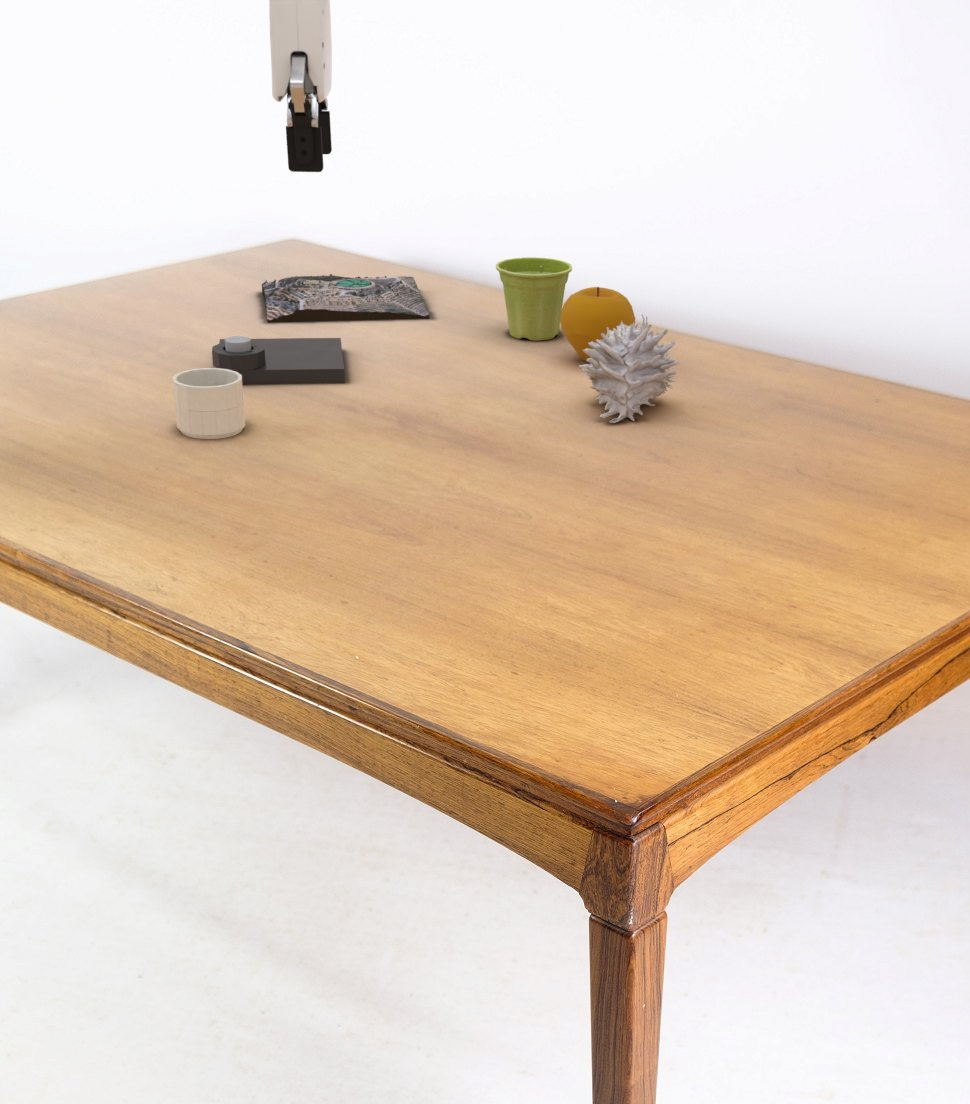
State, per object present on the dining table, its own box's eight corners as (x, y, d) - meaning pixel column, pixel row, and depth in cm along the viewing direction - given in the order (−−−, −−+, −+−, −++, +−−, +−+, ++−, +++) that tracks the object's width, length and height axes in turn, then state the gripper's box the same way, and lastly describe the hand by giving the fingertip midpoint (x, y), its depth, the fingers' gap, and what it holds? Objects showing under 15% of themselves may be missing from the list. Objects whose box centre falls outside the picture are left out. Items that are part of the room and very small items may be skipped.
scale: (213, 386, 180) (211, 355, 179) (217, 353, 192) (215, 323, 190) (345, 384, 183) (343, 353, 181) (341, 351, 194) (339, 322, 193)
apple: (556, 350, 199) (558, 276, 194) (629, 351, 199) (632, 277, 195) (561, 371, 191) (562, 295, 186) (637, 372, 192) (640, 296, 187)
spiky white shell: (659, 415, 185) (565, 432, 180) (642, 317, 183) (547, 332, 178) (709, 407, 175) (611, 425, 170) (693, 303, 173) (593, 319, 168)
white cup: (175, 441, 164) (170, 387, 161) (179, 420, 169) (174, 368, 167) (245, 439, 165) (241, 386, 162) (246, 418, 171) (242, 367, 168)
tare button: (225, 354, 180) (224, 342, 180) (226, 348, 183) (225, 336, 182) (251, 354, 181) (250, 342, 180) (251, 347, 183) (250, 335, 182)
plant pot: (514, 348, 199) (514, 276, 195) (484, 329, 206) (484, 259, 202) (583, 341, 203) (585, 271, 199) (551, 323, 210) (552, 254, 206)
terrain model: (268, 323, 204) (266, 297, 203) (262, 295, 217) (260, 270, 216) (429, 319, 209) (428, 294, 207) (414, 291, 222) (413, 267, 220)
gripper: (268, -40, 156) (281, 146, 165) (245, -27, 141) (261, 178, 149) (347, -38, 157) (356, 148, 165) (333, -24, 142) (343, 179, 150)
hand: (310, 162), depth 157 cm, fingers open, 9 cm apart
